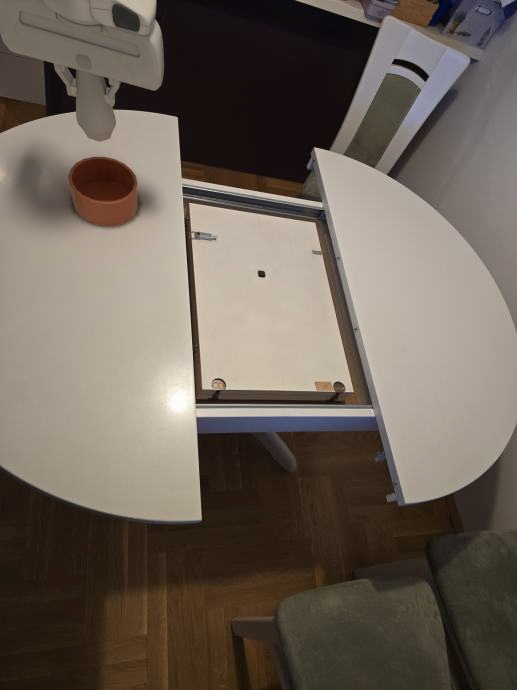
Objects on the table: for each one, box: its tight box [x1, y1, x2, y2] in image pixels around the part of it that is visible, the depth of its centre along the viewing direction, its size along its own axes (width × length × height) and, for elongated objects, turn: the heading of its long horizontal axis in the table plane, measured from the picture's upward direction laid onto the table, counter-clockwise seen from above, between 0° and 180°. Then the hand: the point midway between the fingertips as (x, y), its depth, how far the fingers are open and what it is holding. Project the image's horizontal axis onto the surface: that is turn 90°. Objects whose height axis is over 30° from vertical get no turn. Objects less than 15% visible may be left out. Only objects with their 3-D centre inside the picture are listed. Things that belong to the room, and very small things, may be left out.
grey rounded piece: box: [75, 54, 117, 142], centre depth 57 cm, size 6×6×13 cm
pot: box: [67, 156, 139, 227], centre depth 77 cm, size 12×12×6 cm
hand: (92, 98), depth 58 cm, fingers closed on grey rounded piece, 3 cm apart
